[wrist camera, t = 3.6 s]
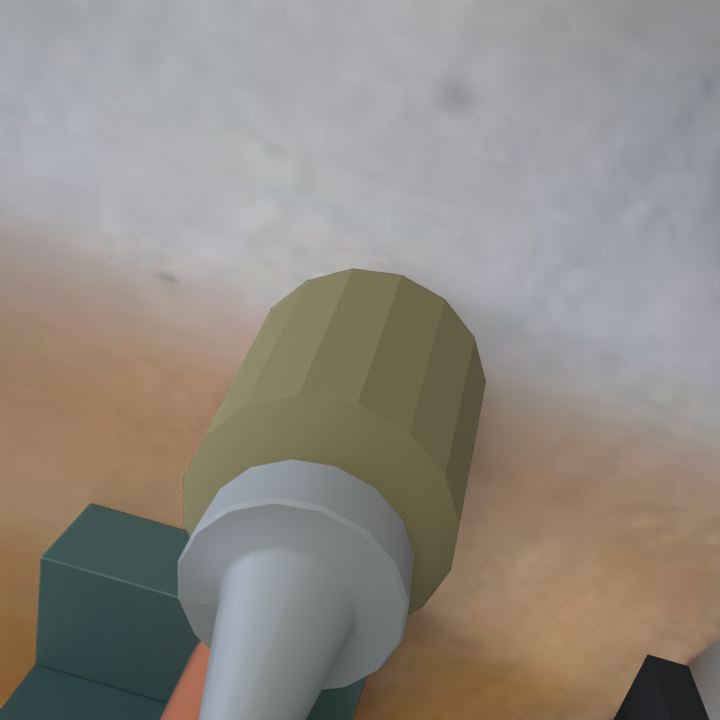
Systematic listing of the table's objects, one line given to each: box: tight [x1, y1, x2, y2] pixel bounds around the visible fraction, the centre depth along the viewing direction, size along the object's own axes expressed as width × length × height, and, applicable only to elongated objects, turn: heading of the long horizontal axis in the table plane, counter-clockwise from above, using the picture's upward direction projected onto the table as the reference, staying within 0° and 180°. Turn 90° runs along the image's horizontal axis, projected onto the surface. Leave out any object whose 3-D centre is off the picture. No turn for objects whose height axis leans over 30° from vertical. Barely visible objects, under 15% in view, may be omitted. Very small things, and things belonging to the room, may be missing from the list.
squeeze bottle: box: [178, 268, 486, 720], centre depth 18 cm, size 8×8×18 cm
